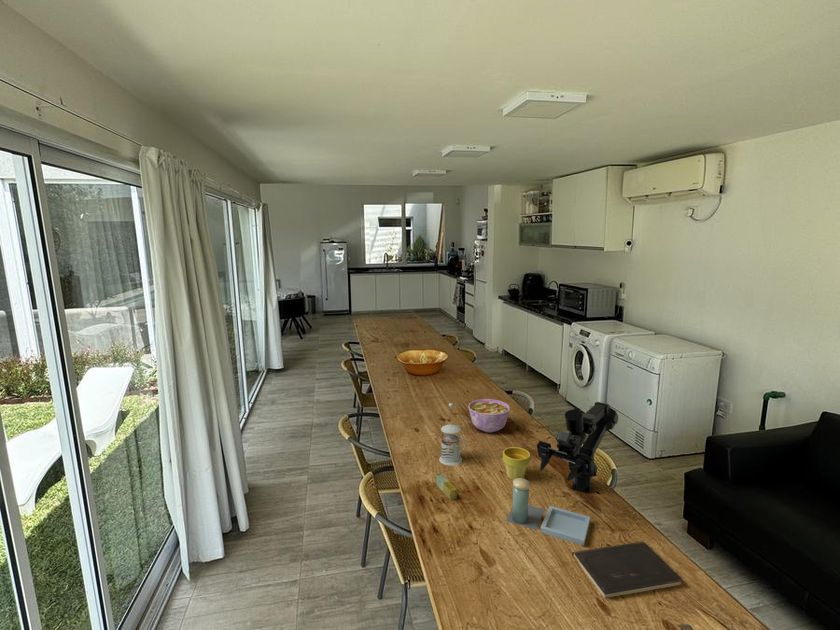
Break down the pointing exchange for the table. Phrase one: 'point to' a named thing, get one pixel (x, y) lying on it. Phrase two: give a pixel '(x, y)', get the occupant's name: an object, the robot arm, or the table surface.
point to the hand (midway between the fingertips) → (553, 474)
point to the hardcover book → (626, 569)
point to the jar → (520, 500)
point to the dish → (566, 525)
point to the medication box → (446, 486)
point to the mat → (529, 517)
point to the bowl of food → (489, 414)
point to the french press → (453, 456)
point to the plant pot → (516, 462)
